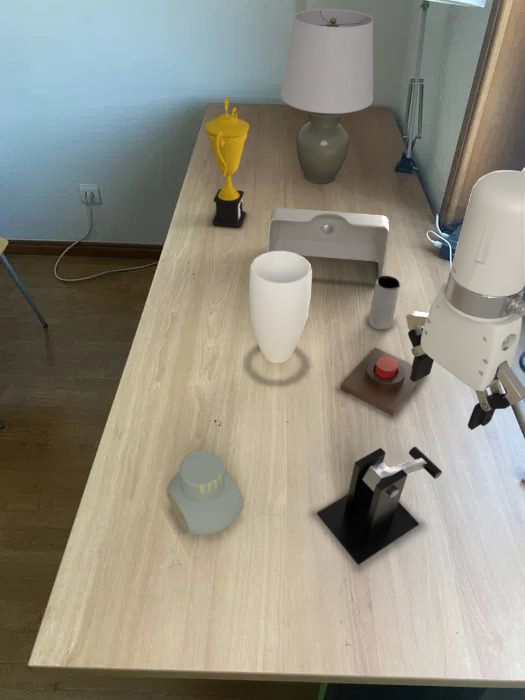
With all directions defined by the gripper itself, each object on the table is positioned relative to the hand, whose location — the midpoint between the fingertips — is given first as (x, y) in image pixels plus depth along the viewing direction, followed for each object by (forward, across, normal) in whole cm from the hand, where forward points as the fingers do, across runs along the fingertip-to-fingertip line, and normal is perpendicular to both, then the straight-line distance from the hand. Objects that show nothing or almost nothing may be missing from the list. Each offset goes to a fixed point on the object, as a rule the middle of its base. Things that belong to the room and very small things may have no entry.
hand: (447, 399), depth 71 cm
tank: (+19, +54, -25) cm, 62 cm away
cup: (+18, +32, +4) cm, 37 cm away
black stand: (+18, 0, +11) cm, 21 cm away
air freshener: (+18, +14, +29) cm, 37 cm away
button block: (+19, +18, -9) cm, 28 cm away
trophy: (+18, +81, -16) cm, 85 cm away
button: (+15, +18, -9) cm, 25 cm away
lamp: (+19, +90, -51) cm, 105 cm away
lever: (+10, -1, +7) cm, 12 cm away
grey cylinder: (+19, +31, -20) cm, 42 cm away
